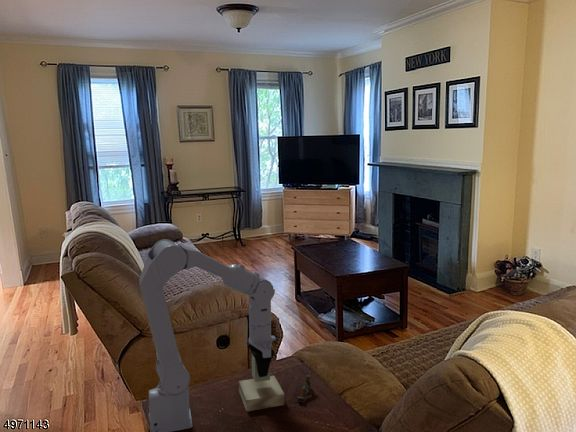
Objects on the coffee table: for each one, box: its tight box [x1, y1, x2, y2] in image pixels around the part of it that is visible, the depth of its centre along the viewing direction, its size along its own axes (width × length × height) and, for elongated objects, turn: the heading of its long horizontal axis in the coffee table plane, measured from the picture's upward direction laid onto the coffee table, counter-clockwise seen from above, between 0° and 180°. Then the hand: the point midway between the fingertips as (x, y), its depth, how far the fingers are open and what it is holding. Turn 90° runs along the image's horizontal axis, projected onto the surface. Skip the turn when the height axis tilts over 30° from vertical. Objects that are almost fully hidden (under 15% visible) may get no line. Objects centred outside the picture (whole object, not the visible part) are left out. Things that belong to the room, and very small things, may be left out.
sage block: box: [251, 353, 271, 382], centre depth 112 cm, size 4×4×6 cm
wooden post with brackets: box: [296, 374, 312, 403], centre depth 115 cm, size 2×8×4 cm, turn 160°
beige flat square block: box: [238, 375, 286, 412], centre depth 113 cm, size 10×10×3 cm
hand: (260, 371), depth 113 cm, fingers closed on sage block, 4 cm apart
